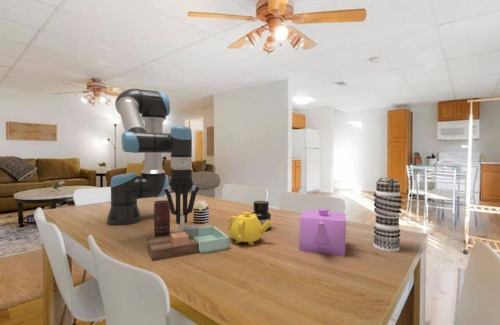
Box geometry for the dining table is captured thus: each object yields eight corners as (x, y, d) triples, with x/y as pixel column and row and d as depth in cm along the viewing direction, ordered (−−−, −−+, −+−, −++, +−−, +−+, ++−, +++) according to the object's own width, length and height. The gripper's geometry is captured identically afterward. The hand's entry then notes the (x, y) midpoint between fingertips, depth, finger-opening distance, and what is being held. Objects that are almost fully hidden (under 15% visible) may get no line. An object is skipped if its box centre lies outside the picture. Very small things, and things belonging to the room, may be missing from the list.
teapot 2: (295, 258, 85) (296, 215, 85) (305, 235, 109) (306, 201, 108) (345, 265, 80) (346, 219, 80) (344, 239, 104) (345, 204, 103)
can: (165, 237, 104) (165, 203, 104) (151, 236, 106) (151, 202, 105) (173, 233, 110) (173, 200, 110) (159, 232, 112) (159, 199, 111)
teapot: (272, 244, 98) (273, 214, 98) (239, 249, 92) (239, 218, 92) (255, 233, 111) (255, 207, 111) (225, 237, 105) (225, 210, 105)
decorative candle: (390, 253, 89) (392, 180, 88) (366, 245, 97) (368, 178, 96) (406, 249, 93) (408, 179, 92) (382, 241, 102) (384, 177, 101)
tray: (188, 238, 103) (188, 228, 103) (213, 235, 108) (213, 225, 108) (201, 253, 88) (201, 242, 88) (229, 248, 93) (229, 237, 93)
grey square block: (182, 233, 100) (182, 225, 100) (195, 232, 102) (195, 224, 102) (185, 237, 95) (185, 229, 95) (198, 235, 98) (198, 228, 98)
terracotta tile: (170, 242, 90) (170, 234, 90) (185, 240, 93) (185, 232, 93) (173, 247, 86) (173, 238, 86) (188, 244, 88) (188, 236, 88)
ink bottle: (259, 232, 112) (259, 204, 111) (246, 228, 118) (246, 201, 118) (275, 228, 118) (275, 202, 118) (261, 224, 125) (262, 199, 124)
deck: (147, 246, 95) (147, 238, 95) (188, 240, 102) (188, 232, 102) (152, 260, 83) (152, 251, 82) (199, 252, 90) (199, 243, 89)
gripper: (164, 169, 90) (165, 237, 91) (201, 169, 96) (201, 232, 97) (161, 168, 97) (161, 231, 98) (195, 167, 103) (196, 227, 104)
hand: (181, 232), depth 97 cm, fingers closed
